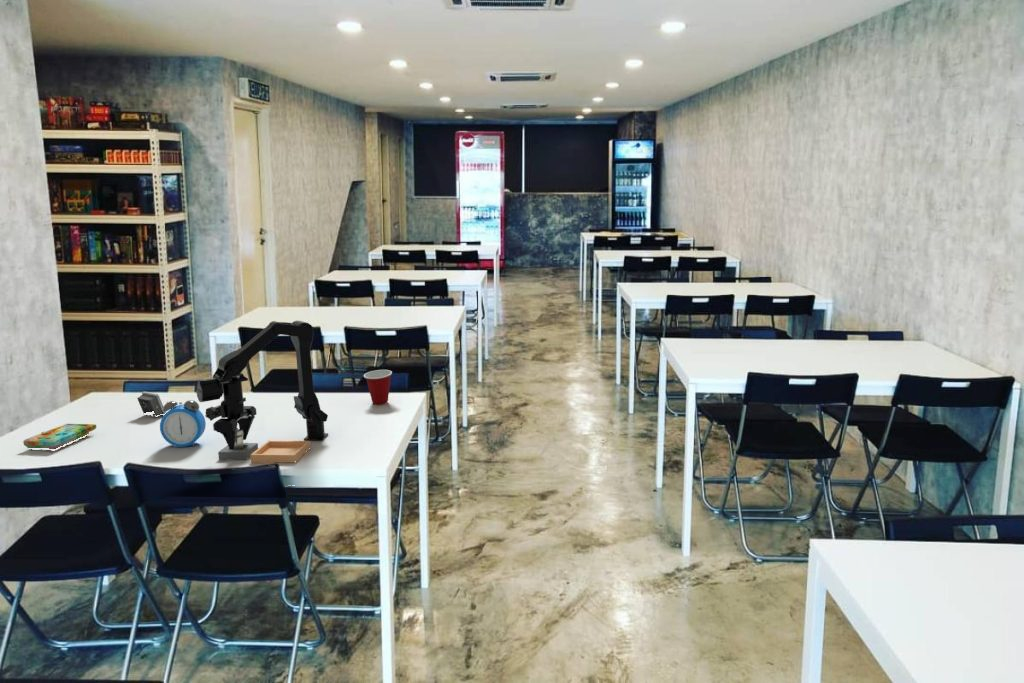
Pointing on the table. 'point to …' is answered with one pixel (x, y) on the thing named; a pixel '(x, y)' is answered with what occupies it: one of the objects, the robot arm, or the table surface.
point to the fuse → (239, 440)
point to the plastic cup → (378, 385)
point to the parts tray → (280, 451)
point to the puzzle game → (59, 436)
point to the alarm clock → (182, 423)
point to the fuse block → (238, 452)
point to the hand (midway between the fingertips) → (237, 444)
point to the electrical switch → (151, 403)
